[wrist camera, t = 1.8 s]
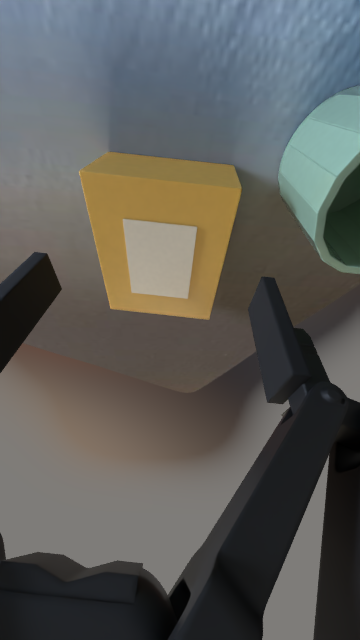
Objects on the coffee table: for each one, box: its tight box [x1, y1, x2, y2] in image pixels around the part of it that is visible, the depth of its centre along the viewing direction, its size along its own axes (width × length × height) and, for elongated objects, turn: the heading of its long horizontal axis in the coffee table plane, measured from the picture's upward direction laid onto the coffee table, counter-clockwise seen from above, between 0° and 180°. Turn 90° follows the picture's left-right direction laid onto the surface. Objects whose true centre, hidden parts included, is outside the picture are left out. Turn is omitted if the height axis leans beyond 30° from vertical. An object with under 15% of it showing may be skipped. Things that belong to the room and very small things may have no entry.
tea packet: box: [79, 152, 242, 320], centre depth 16 cm, size 10×8×5 cm
